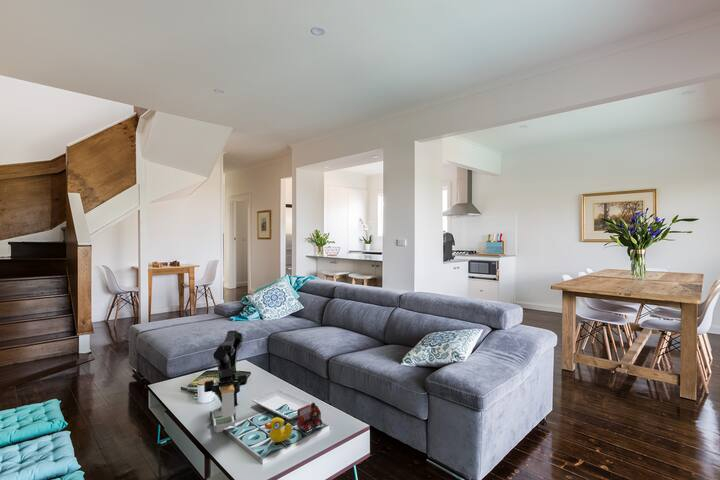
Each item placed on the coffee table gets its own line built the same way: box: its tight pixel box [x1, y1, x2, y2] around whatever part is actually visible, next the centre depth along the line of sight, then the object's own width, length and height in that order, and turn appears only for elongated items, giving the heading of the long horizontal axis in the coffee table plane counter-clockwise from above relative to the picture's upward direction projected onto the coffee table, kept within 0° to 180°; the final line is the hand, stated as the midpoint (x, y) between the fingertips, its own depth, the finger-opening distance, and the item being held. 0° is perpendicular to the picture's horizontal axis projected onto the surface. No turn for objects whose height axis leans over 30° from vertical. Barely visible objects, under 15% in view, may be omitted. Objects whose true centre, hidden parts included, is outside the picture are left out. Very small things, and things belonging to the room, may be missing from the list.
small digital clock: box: [209, 409, 237, 434], centre depth 176 cm, size 11×17×3 cm, turn 24°
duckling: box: [264, 417, 293, 443], centre depth 159 cm, size 11×5×10 cm, turn 115°
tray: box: [251, 388, 312, 420], centre depth 190 cm, size 17×32×4 cm, turn 48°
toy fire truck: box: [296, 402, 323, 433], centre depth 170 cm, size 7×12×10 cm, turn 135°
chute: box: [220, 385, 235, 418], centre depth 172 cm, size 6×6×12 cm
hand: (227, 400), depth 171 cm, fingers closed on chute, 5 cm apart
